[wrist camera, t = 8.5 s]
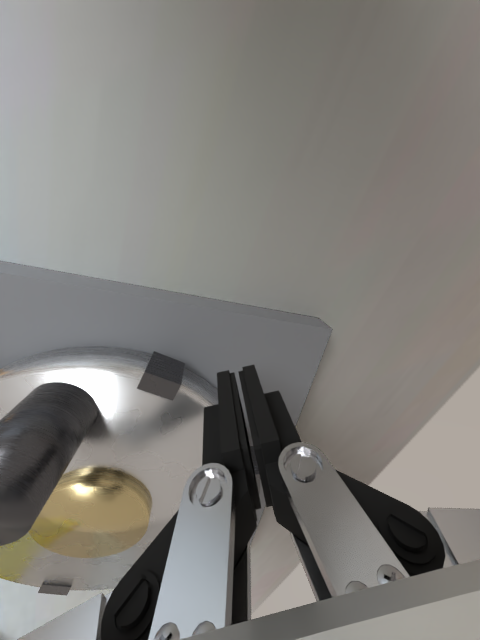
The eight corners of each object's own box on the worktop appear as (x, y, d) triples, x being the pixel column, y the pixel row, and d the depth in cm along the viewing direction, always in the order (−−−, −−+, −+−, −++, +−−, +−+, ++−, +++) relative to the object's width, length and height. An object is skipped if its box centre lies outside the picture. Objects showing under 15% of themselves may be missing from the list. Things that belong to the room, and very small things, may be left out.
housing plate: (-114, 240, 12) (-178, 243, 10) (318, 317, 16) (333, 330, 14) (-35, 536, 20) (-62, 570, 18) (242, 533, 24) (245, 560, 22)
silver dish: (252, 525, 20) (273, 665, 14) (9, 563, 18) (-101, 747, 12) (253, 334, 14) (293, 429, 7) (-126, 359, 12) (-542, 523, 5)
